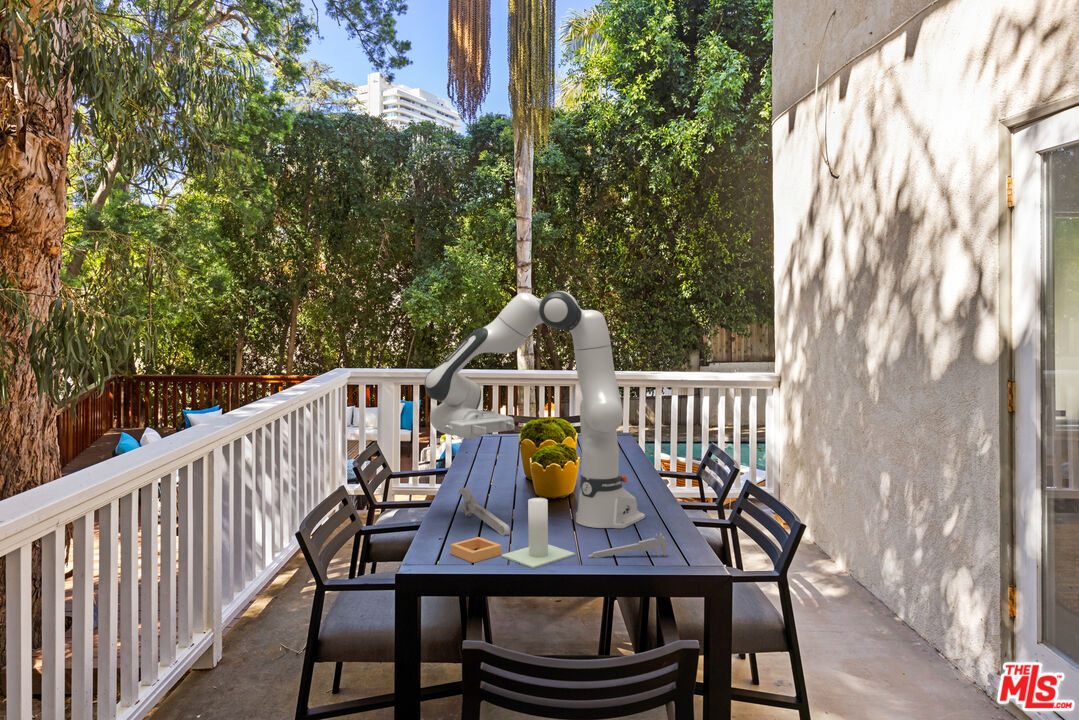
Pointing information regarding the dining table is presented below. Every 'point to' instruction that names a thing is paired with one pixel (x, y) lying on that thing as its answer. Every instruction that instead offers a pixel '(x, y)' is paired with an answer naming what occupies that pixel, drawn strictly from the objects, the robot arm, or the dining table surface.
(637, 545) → the caliper
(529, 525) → the tall white pillar
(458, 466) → the dining table surface
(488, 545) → the orange square frame
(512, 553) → the mat
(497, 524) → the wrench
